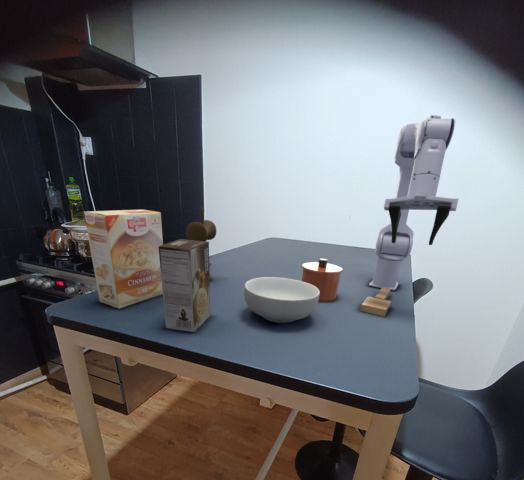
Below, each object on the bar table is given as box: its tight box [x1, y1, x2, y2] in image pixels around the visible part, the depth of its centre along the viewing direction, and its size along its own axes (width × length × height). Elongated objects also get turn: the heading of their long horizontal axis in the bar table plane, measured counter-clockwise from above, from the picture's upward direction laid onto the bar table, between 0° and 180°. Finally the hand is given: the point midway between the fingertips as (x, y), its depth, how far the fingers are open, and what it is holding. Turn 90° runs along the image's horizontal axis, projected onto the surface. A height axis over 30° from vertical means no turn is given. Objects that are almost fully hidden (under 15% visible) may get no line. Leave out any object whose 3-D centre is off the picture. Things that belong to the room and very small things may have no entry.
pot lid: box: [301, 258, 343, 274], centre depth 85 cm, size 11×11×3 cm
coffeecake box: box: [83, 209, 164, 310], centre depth 73 cm, size 15×7×20 cm, turn 151°
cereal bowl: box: [243, 276, 320, 324], centre depth 71 cm, size 17×17×7 cm
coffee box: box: [159, 238, 211, 333], centre depth 63 cm, size 9×6×16 cm
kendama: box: [185, 206, 218, 281], centre depth 90 cm, size 6×10×20 cm, turn 169°
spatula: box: [359, 288, 392, 317], centre depth 86 cm, size 19×6×2 cm, turn 152°
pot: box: [301, 268, 342, 302], centre depth 87 cm, size 10×10×8 cm
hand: (411, 243), depth 71 cm, fingers open, 7 cm apart
